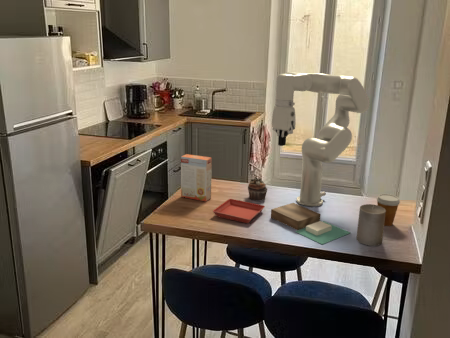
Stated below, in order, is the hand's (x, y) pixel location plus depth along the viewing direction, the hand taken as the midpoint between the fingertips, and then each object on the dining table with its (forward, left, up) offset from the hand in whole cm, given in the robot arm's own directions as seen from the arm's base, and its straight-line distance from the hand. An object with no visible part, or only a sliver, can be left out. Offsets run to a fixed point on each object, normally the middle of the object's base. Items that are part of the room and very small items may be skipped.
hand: (281, 145), depth 190 cm
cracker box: (+22, -35, -31) cm, 51 cm away
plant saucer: (+18, -7, -32) cm, 37 cm away
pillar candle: (-7, +43, -31) cm, 54 cm away
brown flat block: (+2, +12, -31) cm, 33 cm away
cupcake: (-3, -18, -31) cm, 36 cm away
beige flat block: (+2, +26, -29) cm, 39 cm away
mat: (+2, +28, -31) cm, 42 cm away
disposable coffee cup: (-28, +37, -31) cm, 56 cm away
